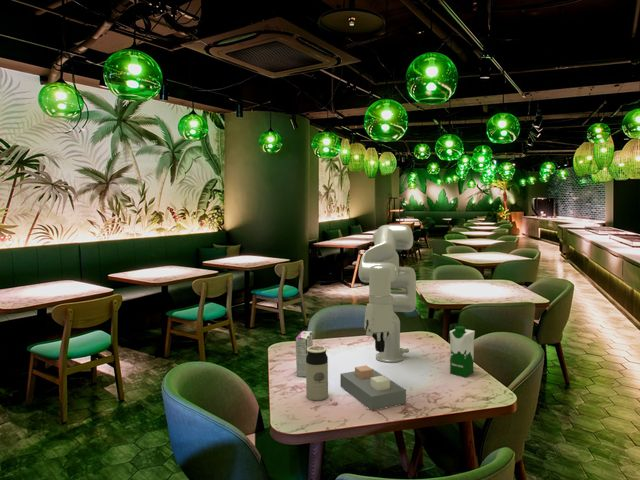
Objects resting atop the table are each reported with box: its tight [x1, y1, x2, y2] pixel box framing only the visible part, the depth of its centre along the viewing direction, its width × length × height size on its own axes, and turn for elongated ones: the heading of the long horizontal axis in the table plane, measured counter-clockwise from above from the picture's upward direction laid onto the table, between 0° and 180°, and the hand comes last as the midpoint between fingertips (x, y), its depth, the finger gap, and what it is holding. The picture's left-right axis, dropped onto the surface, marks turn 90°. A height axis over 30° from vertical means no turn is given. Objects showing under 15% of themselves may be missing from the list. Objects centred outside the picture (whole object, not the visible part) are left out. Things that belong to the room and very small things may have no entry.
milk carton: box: [449, 325, 476, 378], centre depth 187 cm, size 9×9×20 cm
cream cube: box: [371, 375, 391, 391], centre depth 162 cm, size 5×5×5 cm
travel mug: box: [305, 345, 329, 401], centre depth 166 cm, size 8×8×18 cm
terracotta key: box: [354, 364, 374, 380], centre depth 173 cm, size 5×5×5 cm
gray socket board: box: [339, 367, 407, 411], centre depth 167 cm, size 14×24×5 cm, turn 24°
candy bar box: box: [295, 330, 314, 378], centre depth 191 cm, size 11×5×16 cm, turn 168°
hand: (379, 351), depth 160 cm, fingers closed
